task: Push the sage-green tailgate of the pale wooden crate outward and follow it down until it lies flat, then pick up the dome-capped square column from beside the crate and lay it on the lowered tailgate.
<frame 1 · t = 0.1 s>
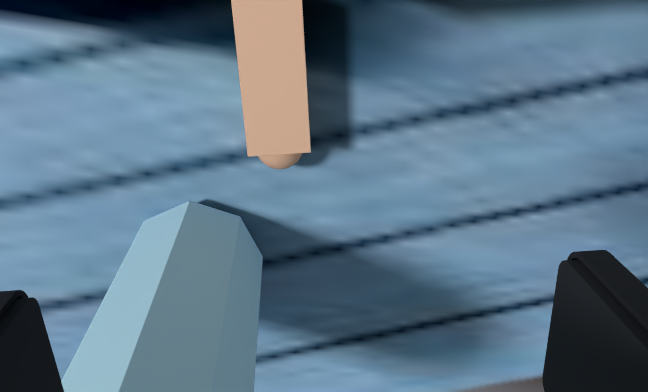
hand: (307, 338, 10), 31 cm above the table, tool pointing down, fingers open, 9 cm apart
dome-capped square column: (274, 68, 39), on the table
water bottle: (199, 250, 45), on the table
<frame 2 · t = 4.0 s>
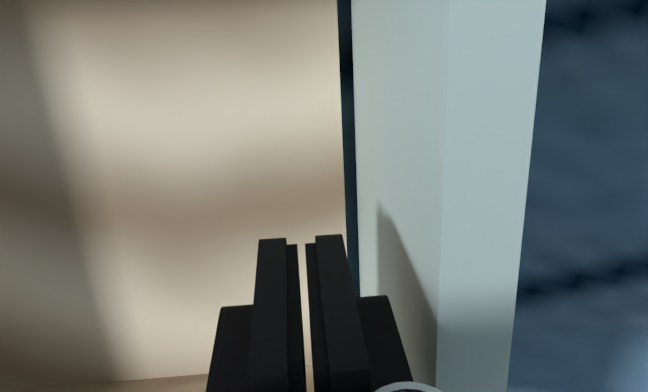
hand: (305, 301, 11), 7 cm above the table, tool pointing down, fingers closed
tailgate: (409, 241, 13), point 5 cm above the table, hinge at 1.4°, touching gripper
crate: (118, 181, 18), on the table
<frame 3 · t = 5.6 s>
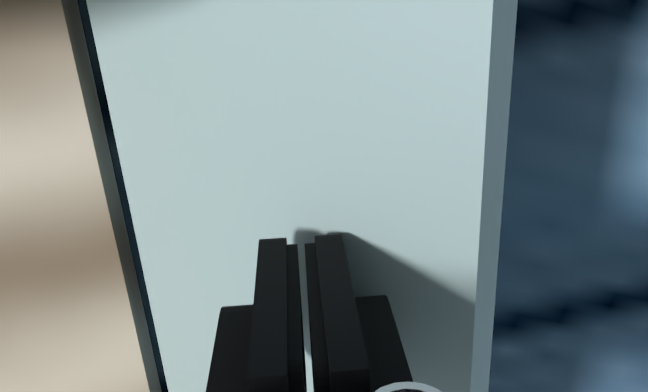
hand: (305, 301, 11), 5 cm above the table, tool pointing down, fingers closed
tailgate: (288, 267, 13), point 3 cm above the table, hinge at 53.7°, touching gripper
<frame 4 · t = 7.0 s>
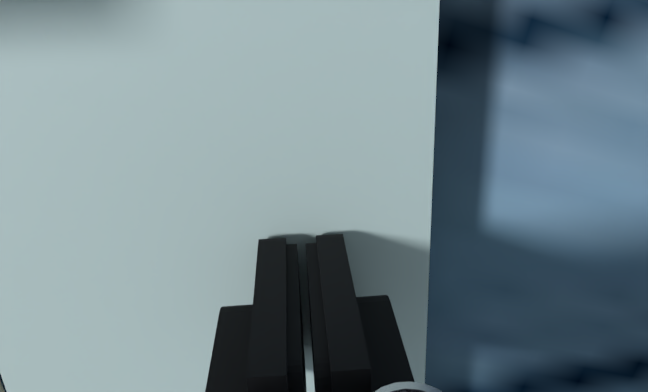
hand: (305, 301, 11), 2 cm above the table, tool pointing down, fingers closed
tailgate: (209, 286, 12), point 1 cm above the table, hinge at 88.1°, touching gripper
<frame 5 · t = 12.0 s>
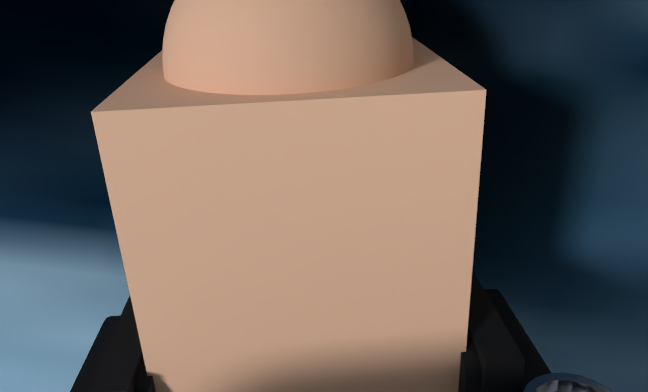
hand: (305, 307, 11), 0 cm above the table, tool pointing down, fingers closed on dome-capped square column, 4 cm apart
dome-capped square column: (304, 294, 12), on the table, touching gripper
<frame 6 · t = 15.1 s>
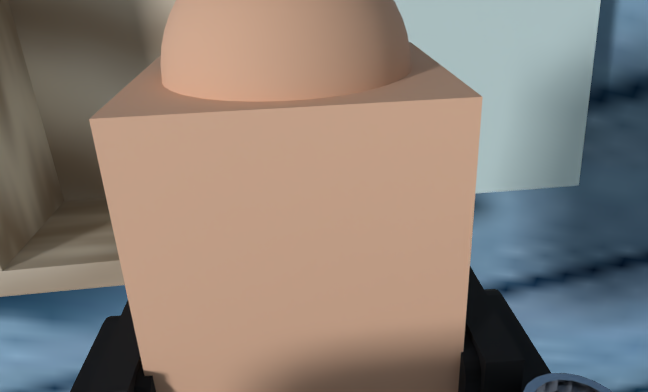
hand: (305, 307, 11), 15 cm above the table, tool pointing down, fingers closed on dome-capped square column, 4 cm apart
tailgate: (483, 1, 23), point 1 cm above the table, hinge at 88.1°
dome-capped square column: (303, 297, 12), point 15 cm above the table, touching gripper
crate: (176, 23, 23), on the table
when the fingers open (4 cm above the table, at t = 18.4 s): dome-capped square column drops 2 cm, resting on tailgate.
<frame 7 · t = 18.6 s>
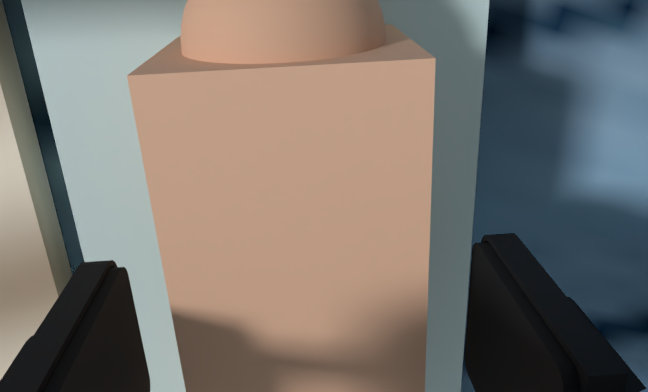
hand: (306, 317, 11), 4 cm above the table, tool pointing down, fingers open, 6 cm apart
tailgate: (280, 241, 14), point 1 cm above the table, hinge at 89.0°, touching dome-capped square column
dome-capped square column: (301, 251, 13), point 1 cm above the table, touching tailgate
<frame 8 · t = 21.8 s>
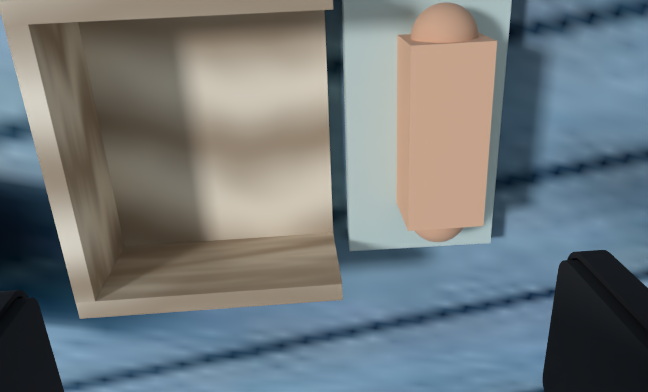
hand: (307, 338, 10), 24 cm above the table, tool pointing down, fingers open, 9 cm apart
tailgate: (422, 119, 33), point 1 cm above the table, hinge at 89.1°, touching dome-capped square column
dome-capped square column: (432, 121, 33), point 1 cm above the table, touching tailgate
crate: (210, 127, 33), on the table
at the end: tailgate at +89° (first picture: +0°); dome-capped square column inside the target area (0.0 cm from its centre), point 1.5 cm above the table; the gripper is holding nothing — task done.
